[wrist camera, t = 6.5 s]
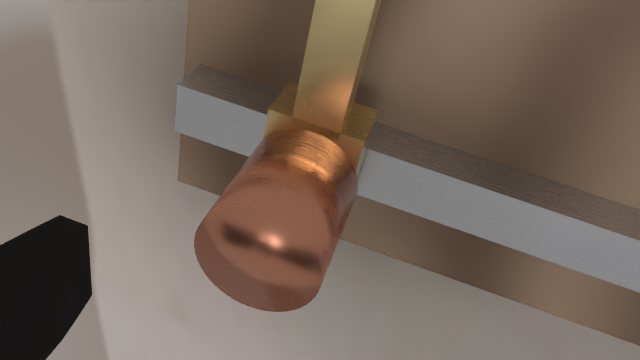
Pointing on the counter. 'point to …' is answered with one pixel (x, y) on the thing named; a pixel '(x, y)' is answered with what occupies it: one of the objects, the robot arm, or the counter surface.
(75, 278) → the robot arm
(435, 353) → the counter surface
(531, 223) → the steel beam
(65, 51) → the counter surface
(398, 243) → the hole plate
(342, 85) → the sliding leg
